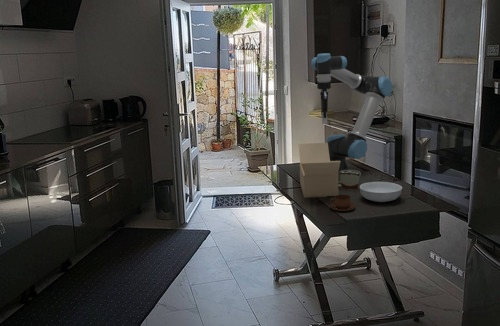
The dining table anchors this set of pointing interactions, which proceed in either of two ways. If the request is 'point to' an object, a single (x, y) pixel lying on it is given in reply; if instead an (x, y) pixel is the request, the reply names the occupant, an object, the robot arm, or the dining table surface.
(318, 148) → the flap
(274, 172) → the dining table surface
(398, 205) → the dining table surface
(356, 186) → the food container
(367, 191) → the serving bowl
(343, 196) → the cup and saucer
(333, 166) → the flap
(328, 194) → the carton
